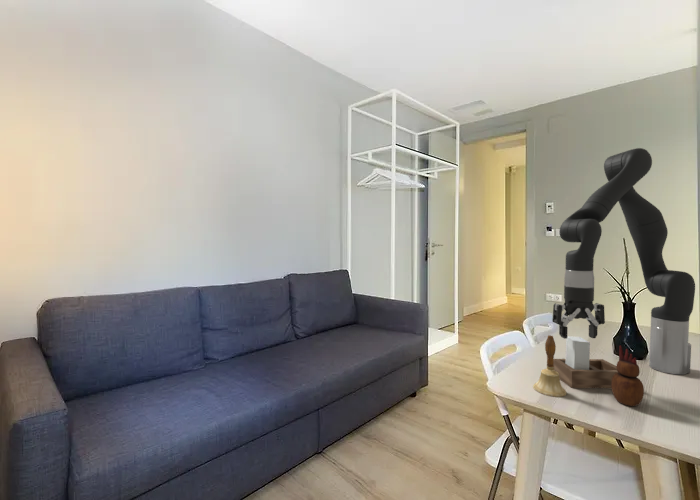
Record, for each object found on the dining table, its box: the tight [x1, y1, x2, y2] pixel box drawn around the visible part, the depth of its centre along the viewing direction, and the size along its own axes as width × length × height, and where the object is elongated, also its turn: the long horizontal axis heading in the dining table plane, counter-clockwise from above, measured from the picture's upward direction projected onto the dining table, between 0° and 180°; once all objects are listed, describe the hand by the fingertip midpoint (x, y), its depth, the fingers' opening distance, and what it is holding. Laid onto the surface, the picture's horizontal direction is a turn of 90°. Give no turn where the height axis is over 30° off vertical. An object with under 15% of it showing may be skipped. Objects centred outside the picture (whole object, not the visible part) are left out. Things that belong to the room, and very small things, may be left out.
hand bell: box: [532, 335, 568, 398], centre depth 97 cm, size 8×8×16 cm
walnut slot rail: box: [553, 358, 618, 389], centre depth 104 cm, size 16×10×5 cm, turn 89°
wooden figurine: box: [610, 345, 645, 407], centre depth 90 cm, size 7×6×15 cm
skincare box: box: [565, 335, 591, 370], centre depth 104 cm, size 6×4×12 cm
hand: (578, 337), depth 103 cm, fingers open, 8 cm apart
